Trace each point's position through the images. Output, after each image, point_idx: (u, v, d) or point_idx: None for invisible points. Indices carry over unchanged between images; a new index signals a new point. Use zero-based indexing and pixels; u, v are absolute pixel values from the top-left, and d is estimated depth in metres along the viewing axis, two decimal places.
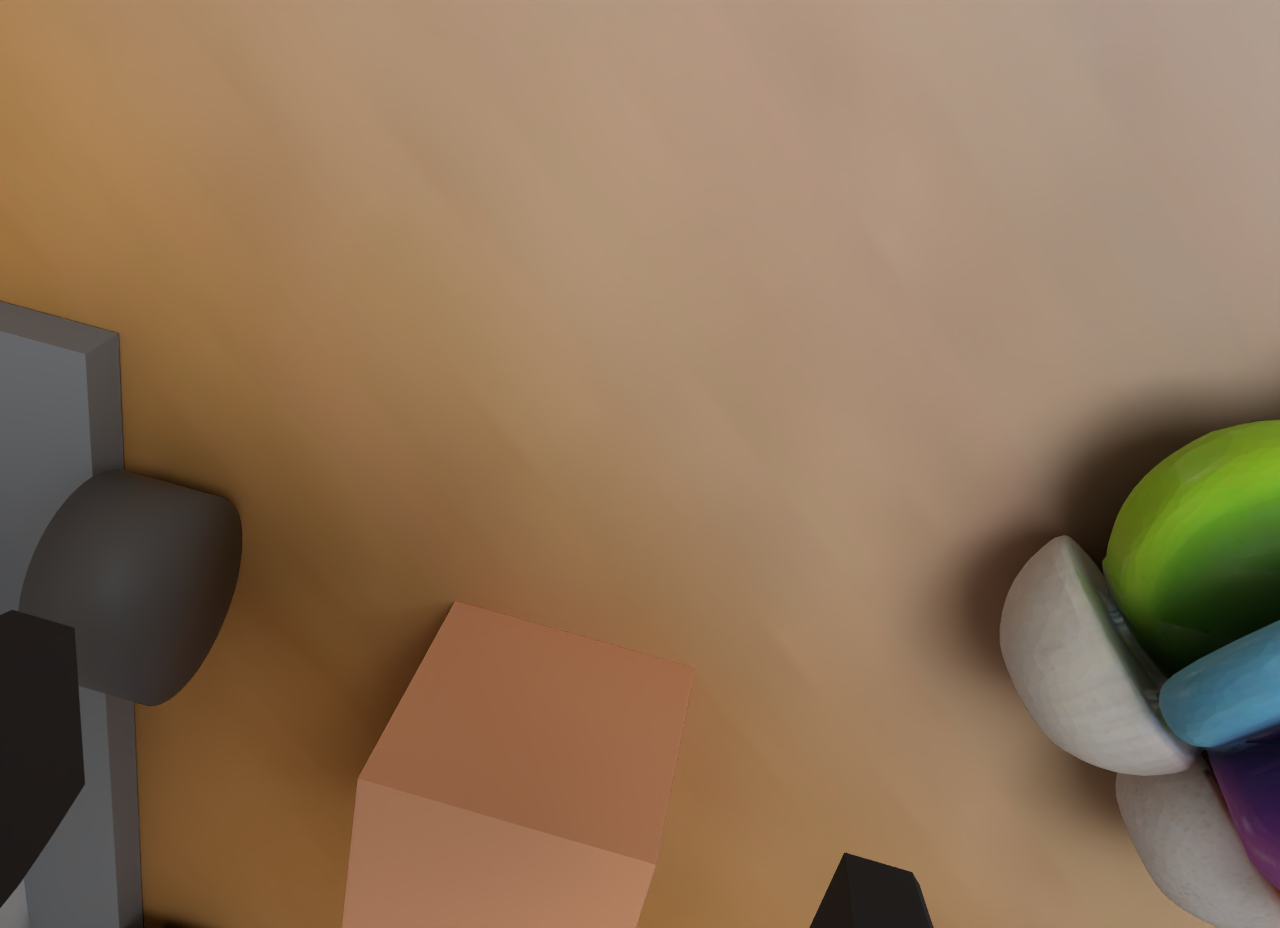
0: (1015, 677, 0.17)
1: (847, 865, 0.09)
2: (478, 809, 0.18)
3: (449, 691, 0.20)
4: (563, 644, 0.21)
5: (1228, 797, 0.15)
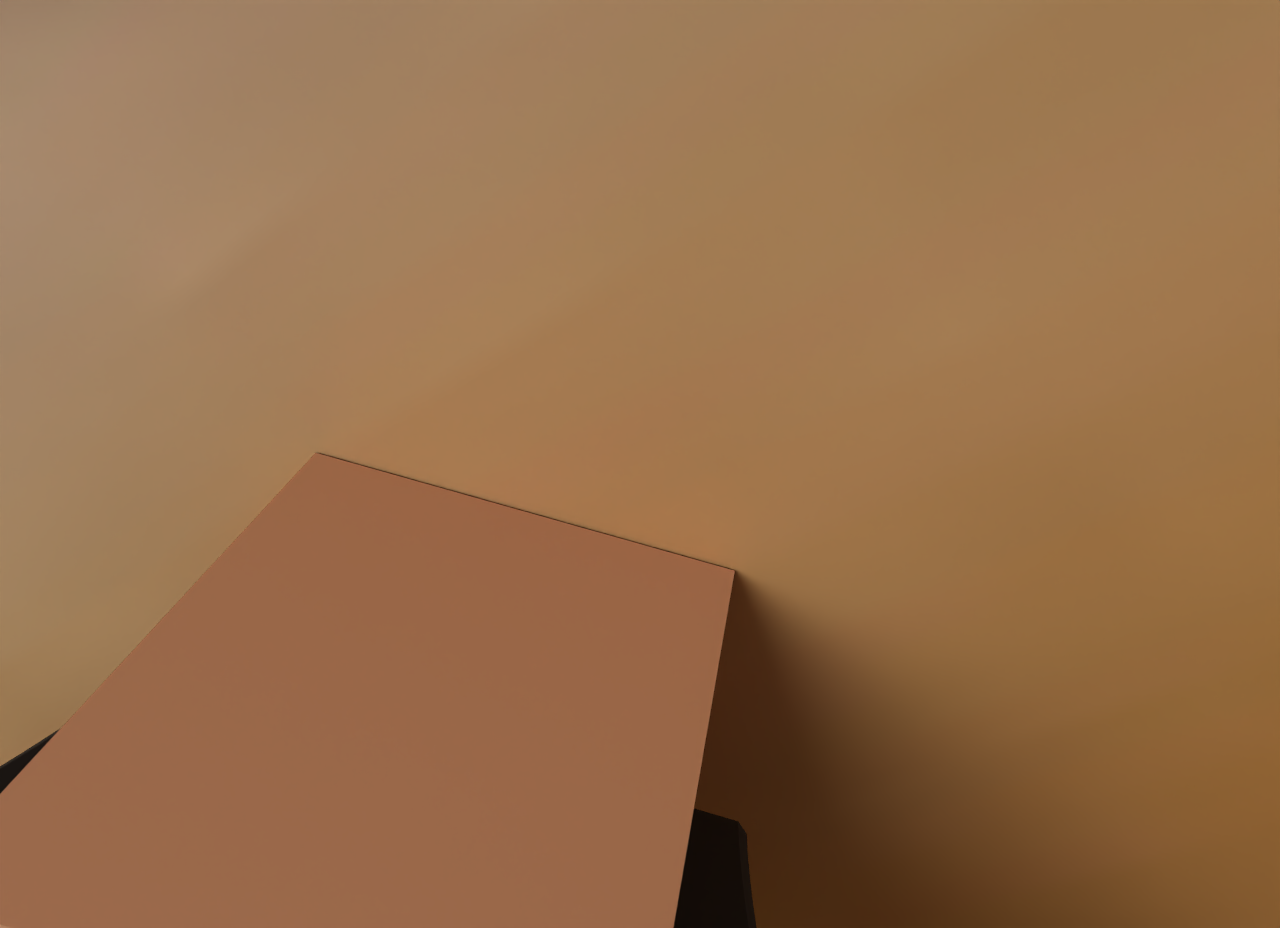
0: None
1: None
2: None
3: None
4: None
5: None
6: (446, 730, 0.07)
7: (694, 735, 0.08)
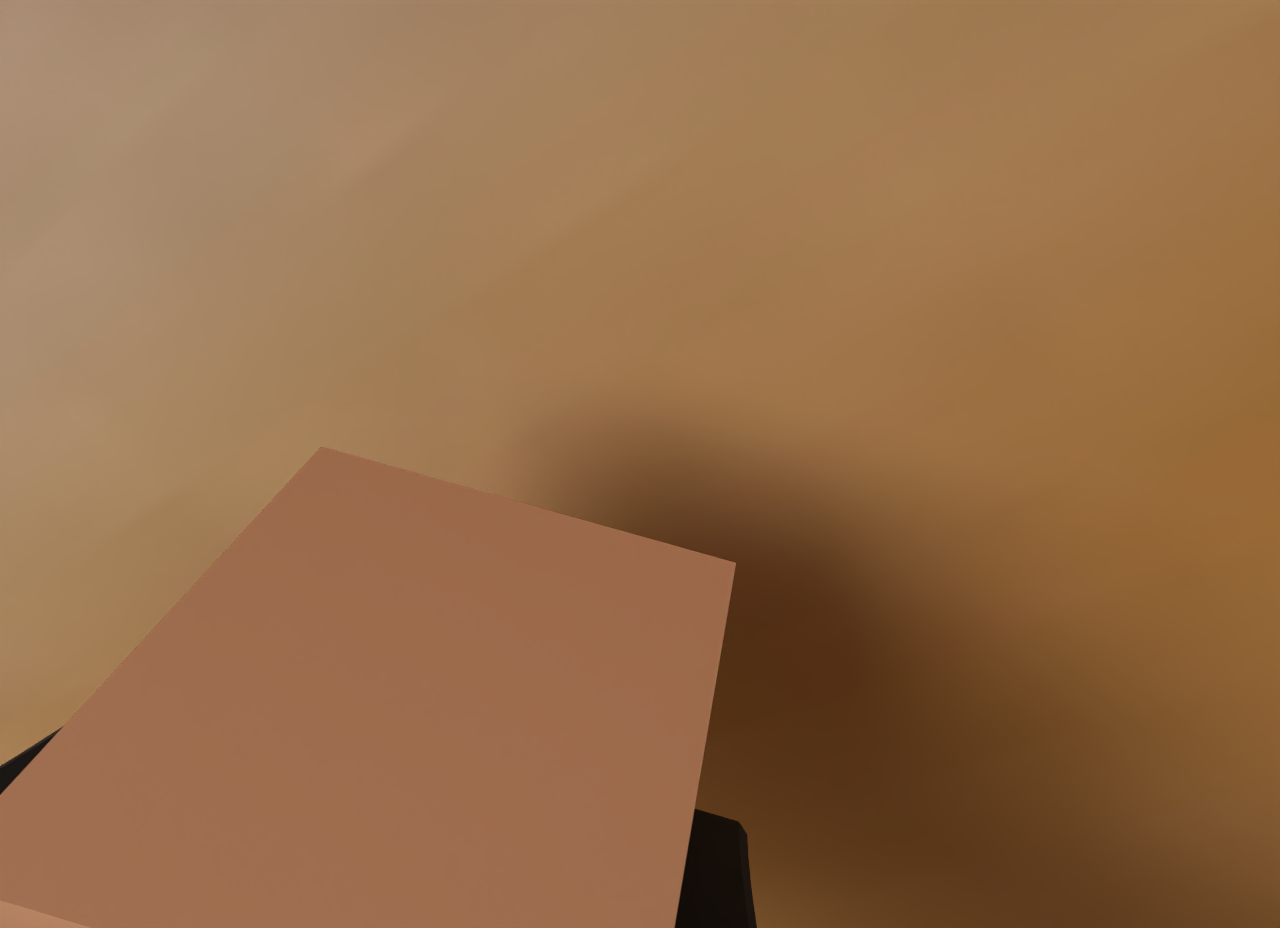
0: None
1: None
2: None
3: None
4: None
5: None
6: (453, 718, 0.08)
7: (697, 723, 0.08)
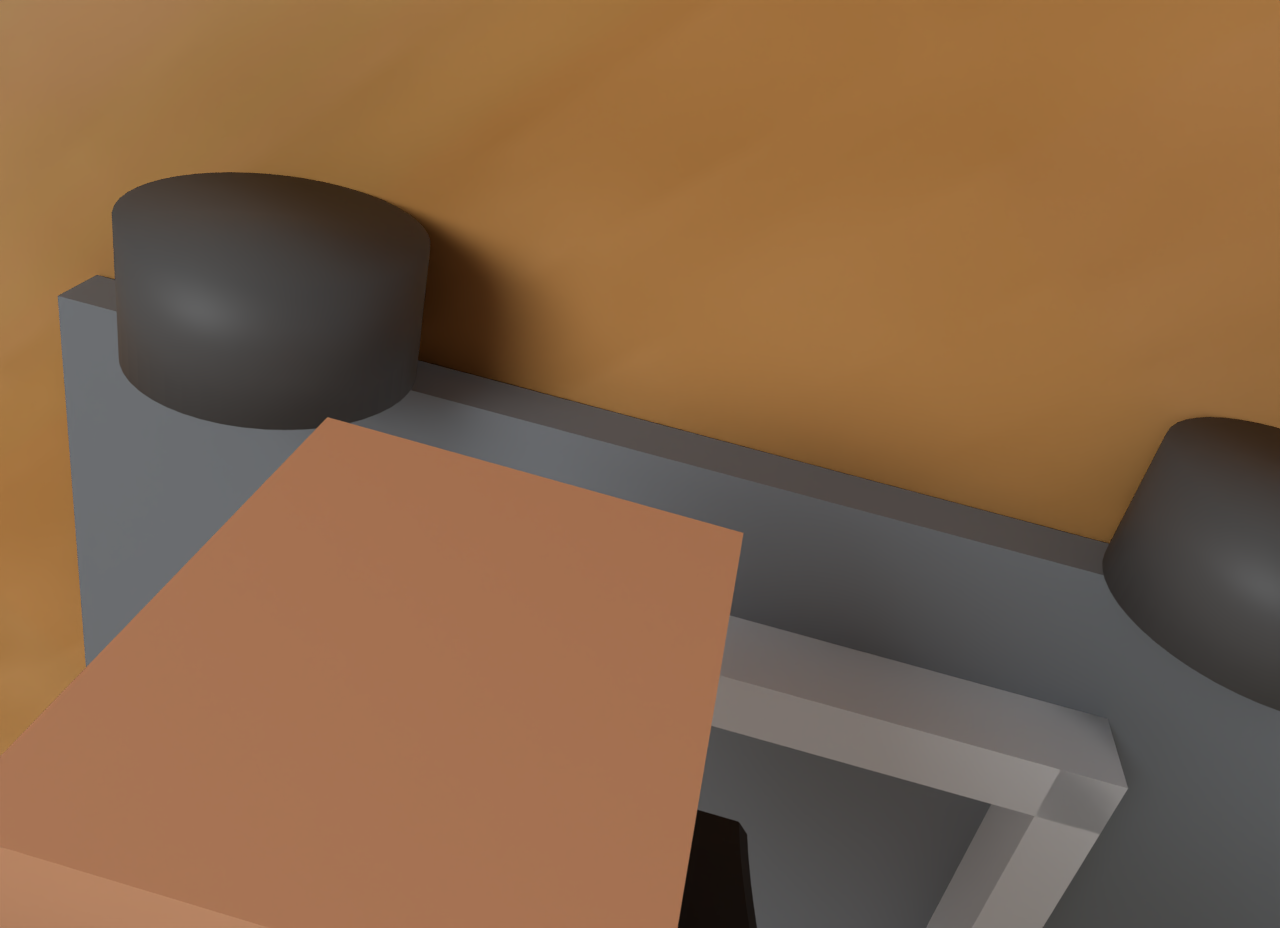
0: None
1: None
2: None
3: None
4: None
5: None
6: (460, 679, 0.08)
7: (705, 686, 0.08)
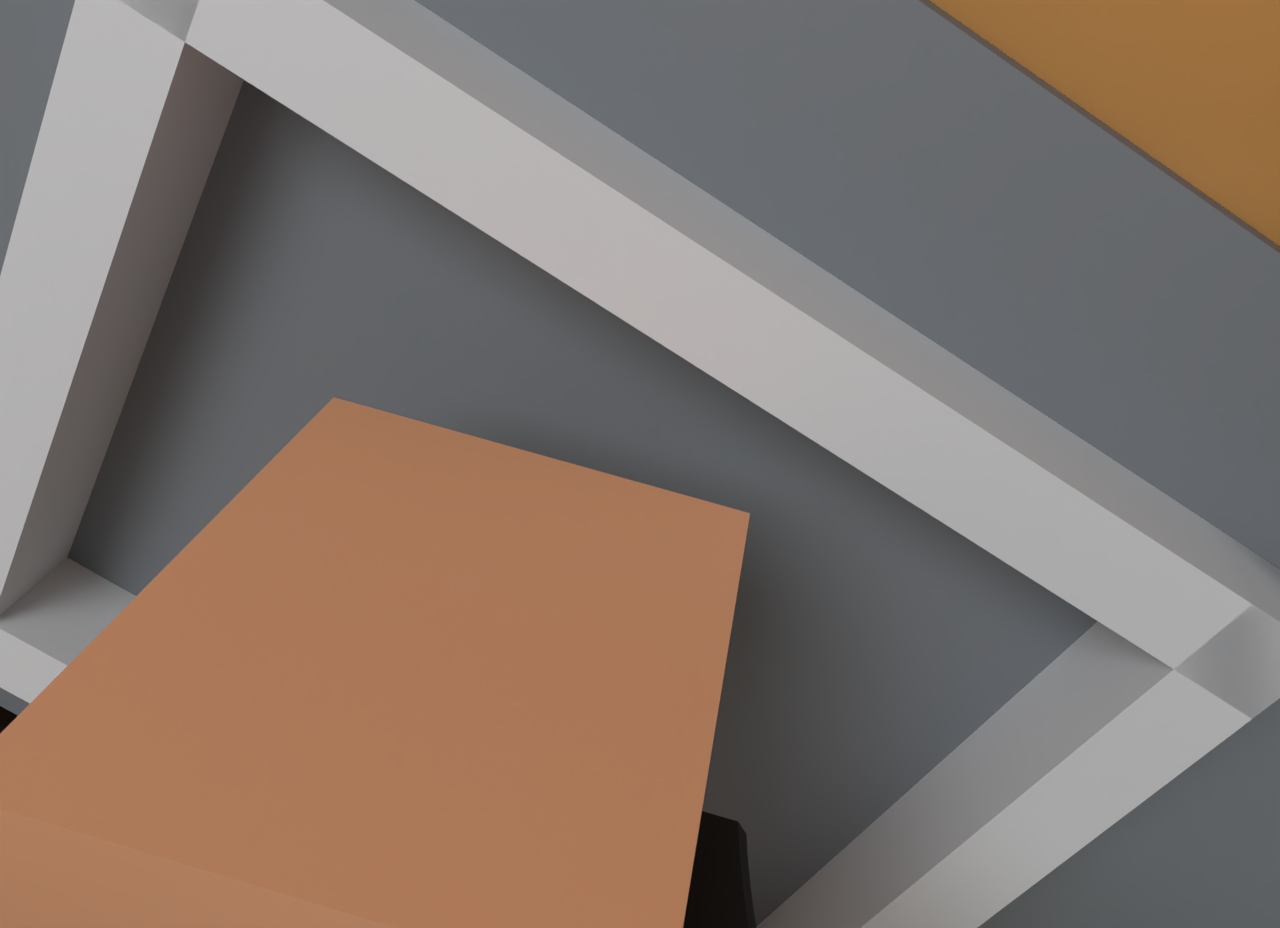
0: None
1: None
2: None
3: None
4: None
5: None
6: (470, 652, 0.08)
7: (714, 662, 0.08)
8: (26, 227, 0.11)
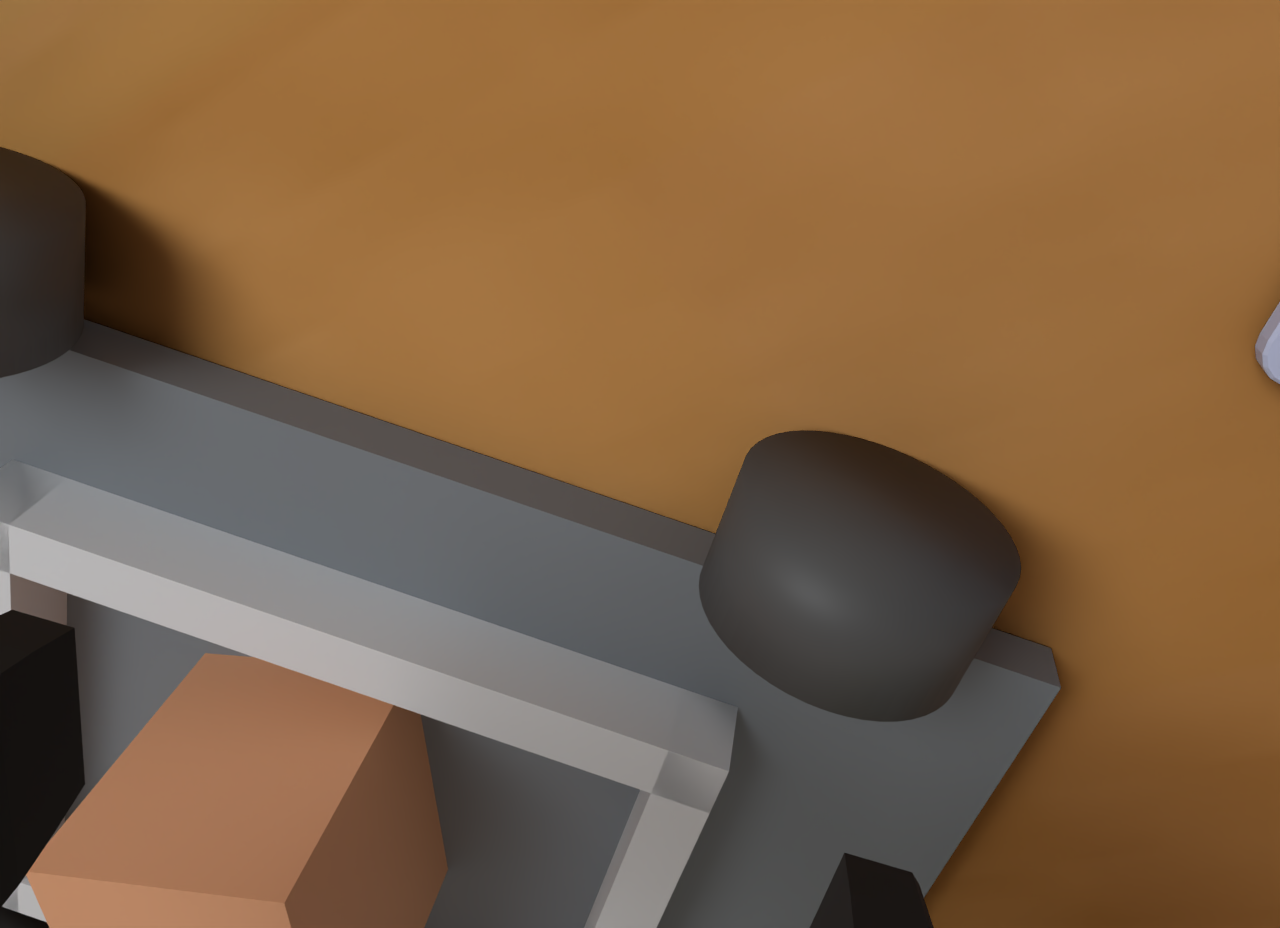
0: None
1: (847, 864, 0.09)
2: None
3: None
4: None
5: None
6: (242, 776, 0.17)
7: (359, 757, 0.17)
8: None
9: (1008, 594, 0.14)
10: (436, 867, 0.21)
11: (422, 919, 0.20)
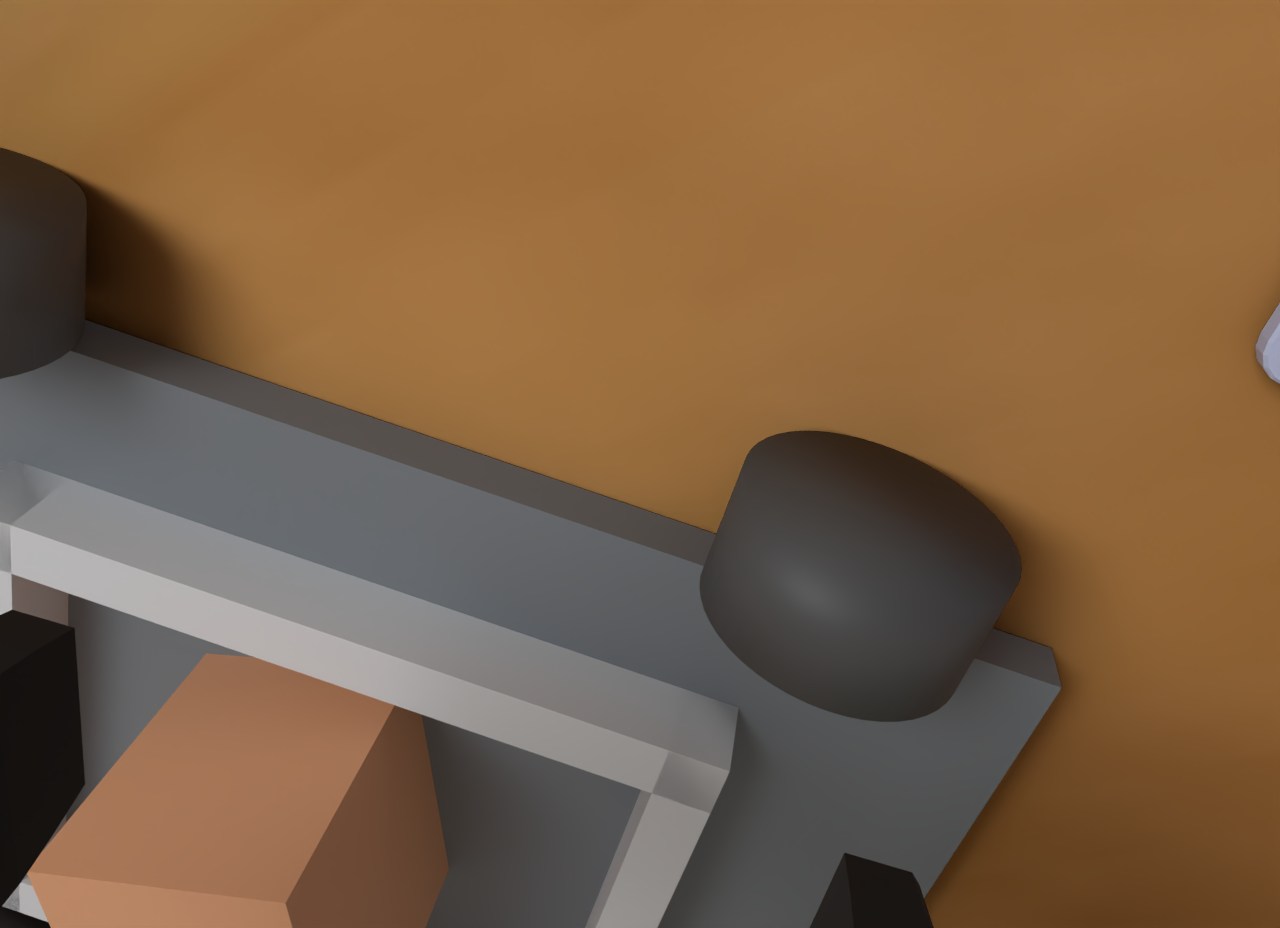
0: None
1: (847, 865, 0.09)
2: None
3: None
4: None
5: None
6: (243, 776, 0.17)
7: (360, 757, 0.17)
8: None
9: (1008, 594, 0.14)
10: (437, 867, 0.21)
11: (424, 919, 0.20)
